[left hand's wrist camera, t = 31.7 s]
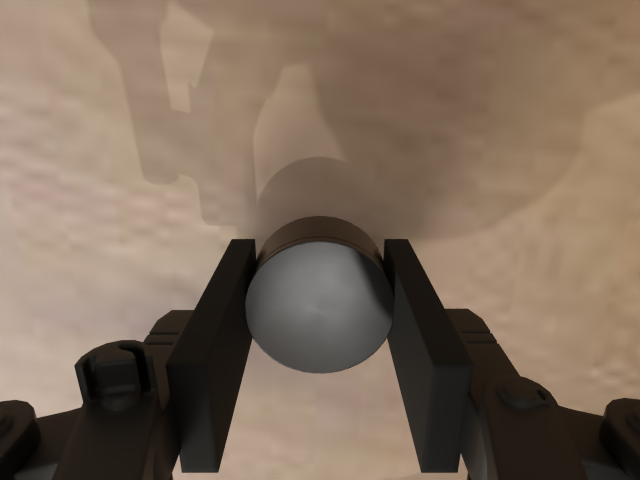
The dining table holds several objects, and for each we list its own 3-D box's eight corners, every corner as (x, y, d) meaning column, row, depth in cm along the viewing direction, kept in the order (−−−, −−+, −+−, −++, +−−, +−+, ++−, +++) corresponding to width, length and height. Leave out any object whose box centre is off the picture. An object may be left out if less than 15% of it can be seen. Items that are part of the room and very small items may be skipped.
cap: (315, 187, 13) (314, 208, 11) (411, 273, 14) (427, 307, 12) (228, 280, 14) (213, 315, 12) (323, 353, 16) (324, 397, 13)
